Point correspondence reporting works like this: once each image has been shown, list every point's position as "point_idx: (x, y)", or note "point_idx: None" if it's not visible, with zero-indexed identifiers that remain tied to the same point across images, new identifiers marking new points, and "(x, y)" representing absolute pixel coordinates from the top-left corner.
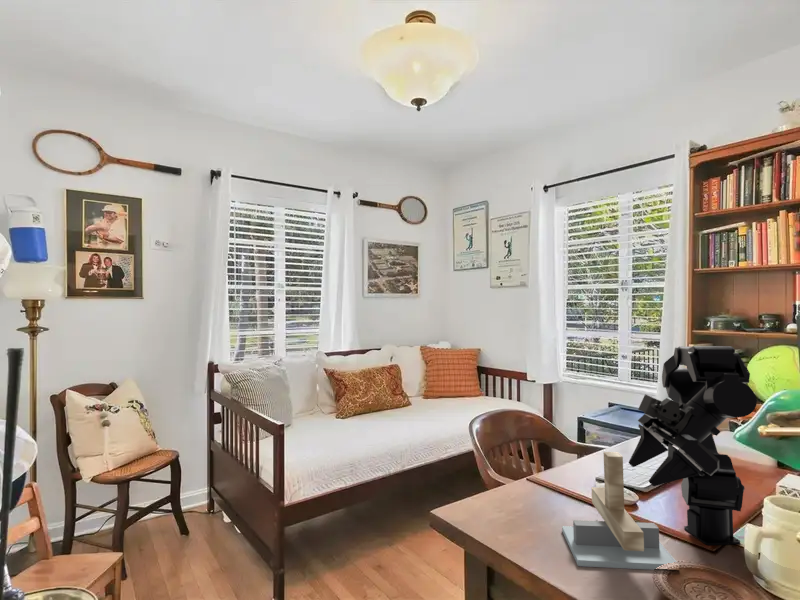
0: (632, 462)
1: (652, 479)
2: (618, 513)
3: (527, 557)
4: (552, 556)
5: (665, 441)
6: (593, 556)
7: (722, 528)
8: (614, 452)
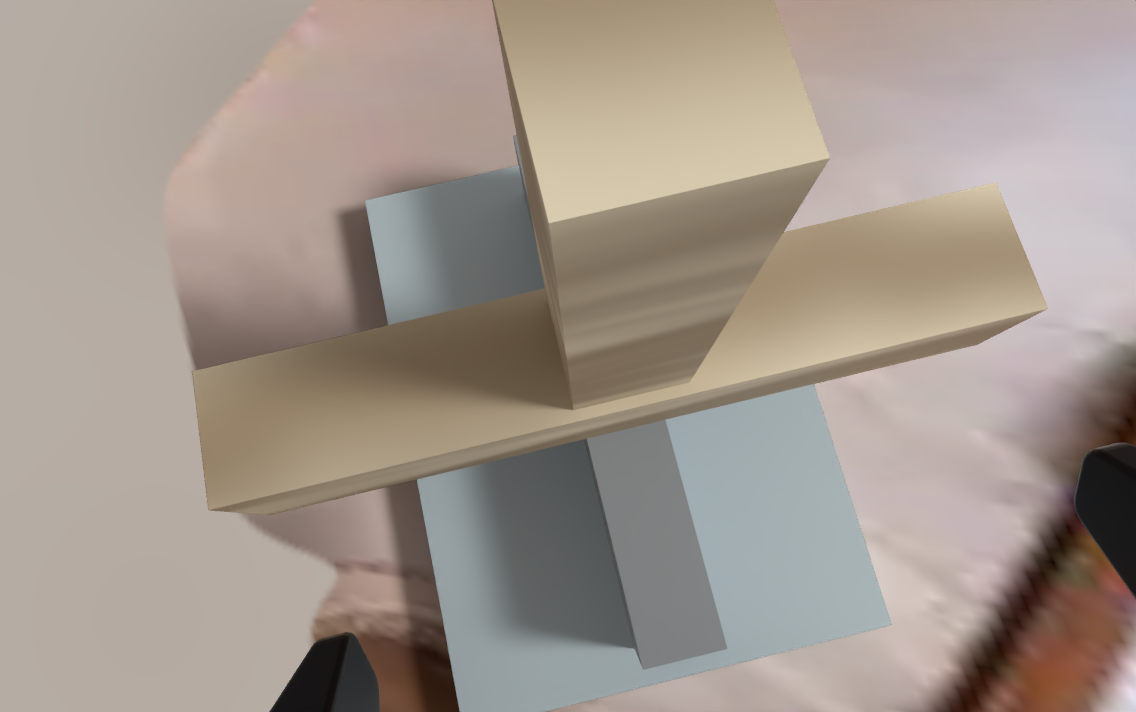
0: (1112, 496)
1: (294, 689)
2: (503, 360)
3: (404, 4)
4: (446, 104)
5: None
6: (422, 273)
7: None
8: (782, 98)
